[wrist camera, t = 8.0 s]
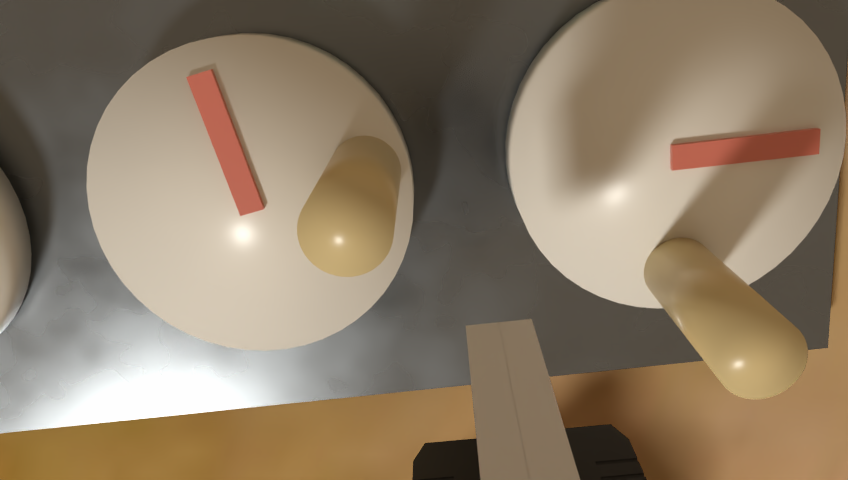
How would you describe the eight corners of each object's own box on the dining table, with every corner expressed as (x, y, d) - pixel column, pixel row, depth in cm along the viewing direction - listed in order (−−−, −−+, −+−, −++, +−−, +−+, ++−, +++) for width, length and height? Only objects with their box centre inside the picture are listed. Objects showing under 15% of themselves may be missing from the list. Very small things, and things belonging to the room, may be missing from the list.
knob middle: (449, 285, 23) (460, 404, 16) (180, 358, 24) (84, 501, 17) (360, -9, 20) (329, -12, 13) (58, 85, 21) (-115, 127, 14)
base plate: (-166, 433, 26) (-223, 475, 24) (-354, 1, 22) (-448, 2, 19) (809, 331, 25) (848, 366, 23) (837, -150, 20) (891, -169, 18)
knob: (517, 302, 23) (555, 427, 16) (492, 1, 20) (527, 4, 14) (808, 271, 23) (968, 385, 16) (825, -39, 20) (1030, -57, 13)
